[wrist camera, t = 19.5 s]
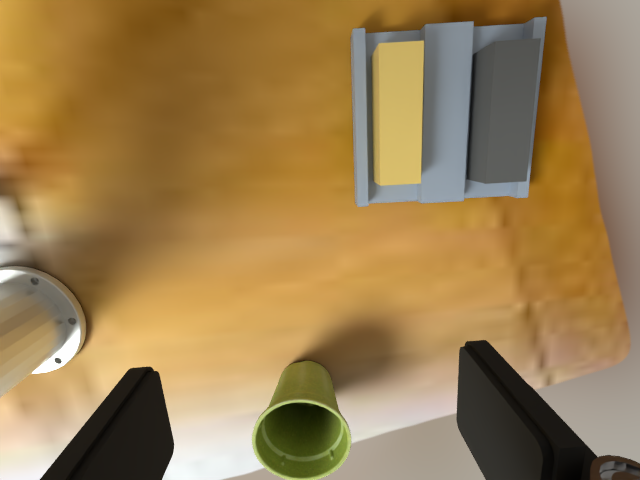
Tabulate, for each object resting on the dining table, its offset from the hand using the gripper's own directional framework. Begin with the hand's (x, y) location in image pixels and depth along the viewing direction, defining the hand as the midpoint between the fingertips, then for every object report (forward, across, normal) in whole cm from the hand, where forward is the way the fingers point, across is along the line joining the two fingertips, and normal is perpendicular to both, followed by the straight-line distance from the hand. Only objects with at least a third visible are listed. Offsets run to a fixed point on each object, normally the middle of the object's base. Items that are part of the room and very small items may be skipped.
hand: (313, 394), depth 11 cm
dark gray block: (+24, -17, -9) cm, 31 cm away
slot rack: (+25, -13, -9) cm, 30 cm away
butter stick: (+24, -8, -9) cm, 28 cm away
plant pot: (+26, +2, +19) cm, 33 cm away
